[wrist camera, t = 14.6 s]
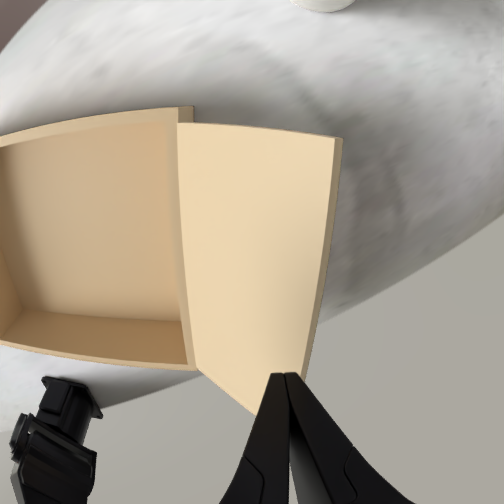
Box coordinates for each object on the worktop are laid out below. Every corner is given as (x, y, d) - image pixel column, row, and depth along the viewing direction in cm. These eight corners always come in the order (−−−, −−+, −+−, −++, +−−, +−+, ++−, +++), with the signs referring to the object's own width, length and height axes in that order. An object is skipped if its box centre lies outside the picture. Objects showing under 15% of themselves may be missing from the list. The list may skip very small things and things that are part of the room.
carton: (205, 323, 24) (200, 370, 20) (23, 310, 23) (-2, 344, 19) (197, 105, 17) (182, 106, 12) (-20, 142, 16) (-62, 158, 11)
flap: (196, 367, 19) (202, 363, 19) (286, 438, 14) (291, 432, 15) (177, 123, 12) (186, 121, 13) (334, 138, 8) (343, 137, 8)
